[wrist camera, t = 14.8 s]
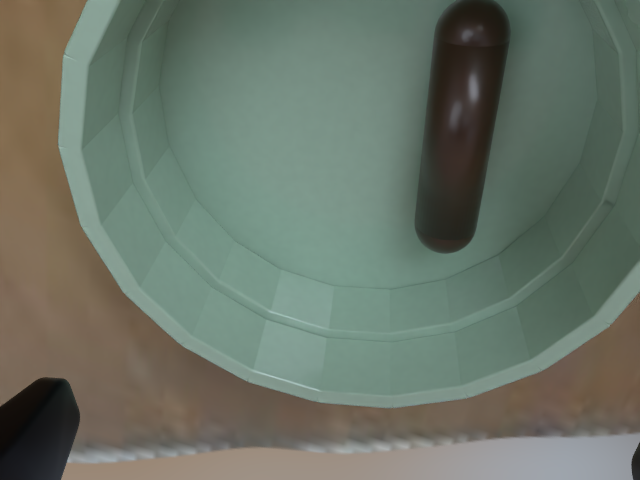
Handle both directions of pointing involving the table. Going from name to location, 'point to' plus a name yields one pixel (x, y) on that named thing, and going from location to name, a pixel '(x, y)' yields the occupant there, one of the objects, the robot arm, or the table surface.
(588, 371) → the table surface
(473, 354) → the bowl
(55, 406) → the robot arm
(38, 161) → the table surface
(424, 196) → the stick
